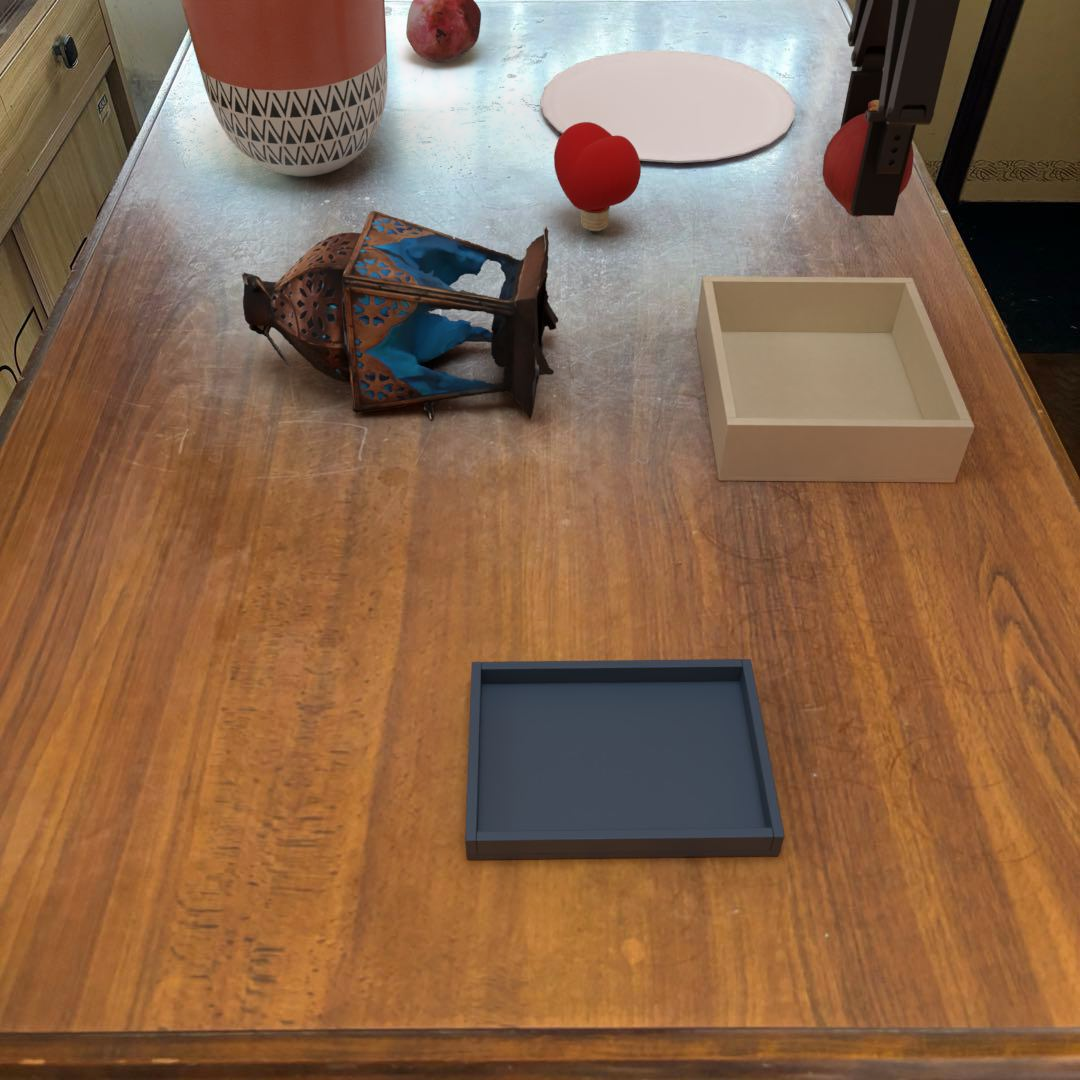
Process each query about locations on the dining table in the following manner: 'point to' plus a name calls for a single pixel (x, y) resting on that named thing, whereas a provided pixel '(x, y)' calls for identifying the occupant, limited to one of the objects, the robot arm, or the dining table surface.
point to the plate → (672, 104)
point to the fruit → (443, 28)
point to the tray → (618, 761)
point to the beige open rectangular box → (827, 381)
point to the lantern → (405, 313)
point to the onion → (851, 159)
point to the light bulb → (595, 171)
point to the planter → (293, 77)
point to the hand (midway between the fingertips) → (862, 188)
